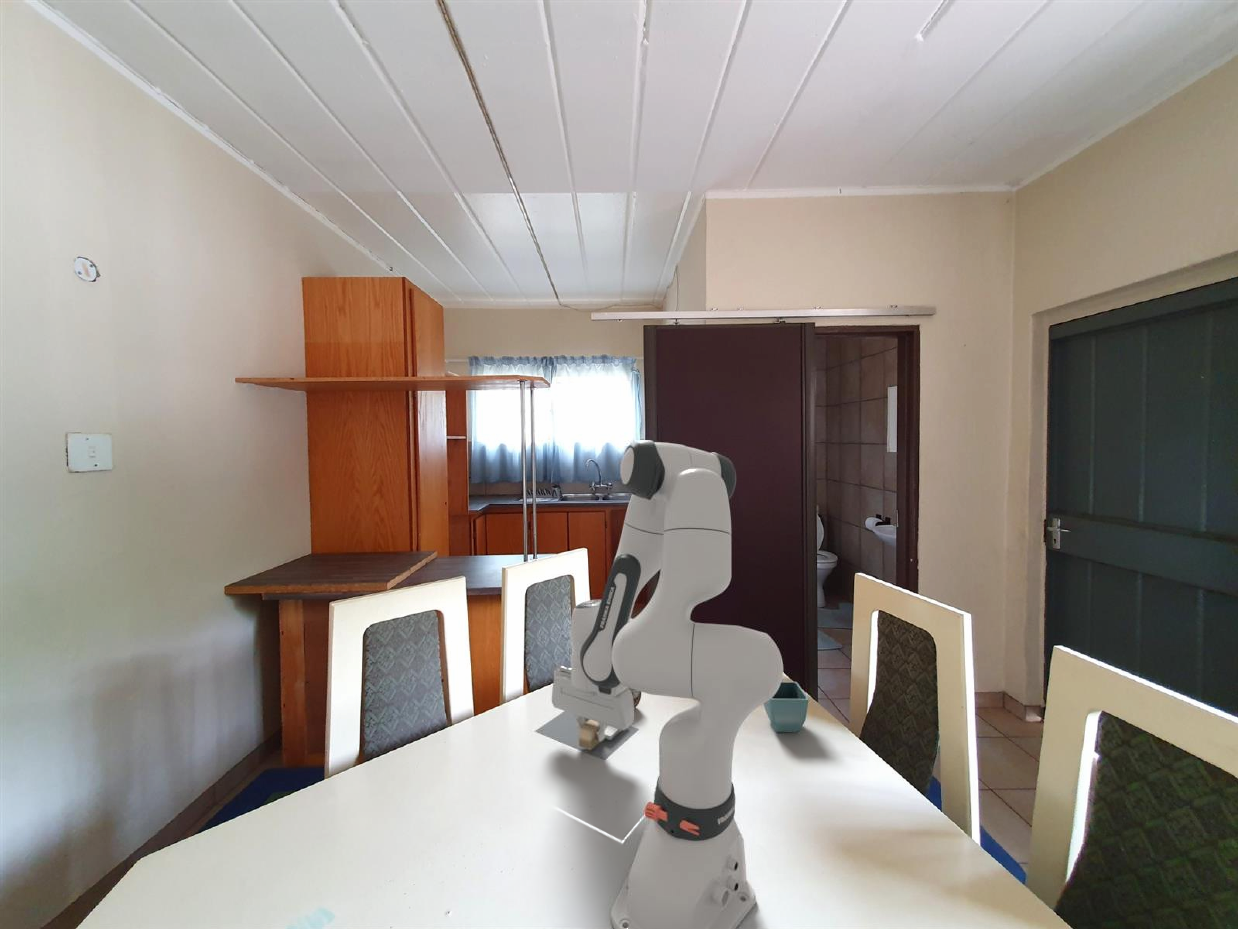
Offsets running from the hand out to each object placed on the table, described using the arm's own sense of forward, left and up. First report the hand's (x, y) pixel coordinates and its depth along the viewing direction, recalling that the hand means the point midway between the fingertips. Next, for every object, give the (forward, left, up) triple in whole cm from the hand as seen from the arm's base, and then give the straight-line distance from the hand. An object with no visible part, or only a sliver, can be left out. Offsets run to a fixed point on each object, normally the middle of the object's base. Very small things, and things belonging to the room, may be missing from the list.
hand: (591, 736), depth 110 cm
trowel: (+4, 0, -1) cm, 4 cm away
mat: (+5, +5, -3) cm, 8 cm away
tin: (+15, +5, -3) cm, 16 cm away
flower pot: (+32, -33, -3) cm, 46 cm away
